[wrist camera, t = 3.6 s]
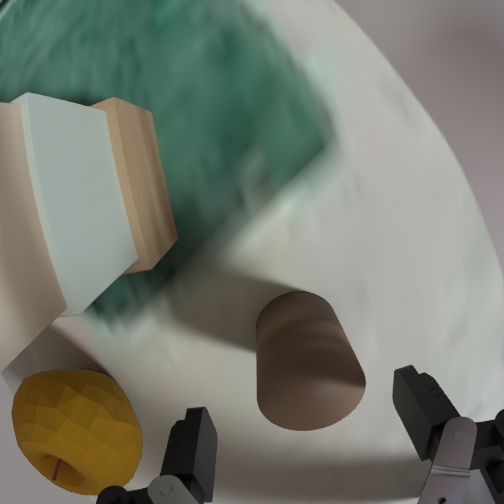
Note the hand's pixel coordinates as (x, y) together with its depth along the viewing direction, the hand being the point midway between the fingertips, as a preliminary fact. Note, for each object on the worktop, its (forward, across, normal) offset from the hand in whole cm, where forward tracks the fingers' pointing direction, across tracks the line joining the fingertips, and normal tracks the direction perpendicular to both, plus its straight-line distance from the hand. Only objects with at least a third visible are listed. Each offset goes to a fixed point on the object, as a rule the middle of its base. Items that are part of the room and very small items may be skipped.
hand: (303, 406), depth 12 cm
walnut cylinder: (+7, -1, 0) cm, 7 cm away
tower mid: (+2, +8, -10) cm, 13 cm away
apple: (+7, +14, +3) cm, 16 cm away
